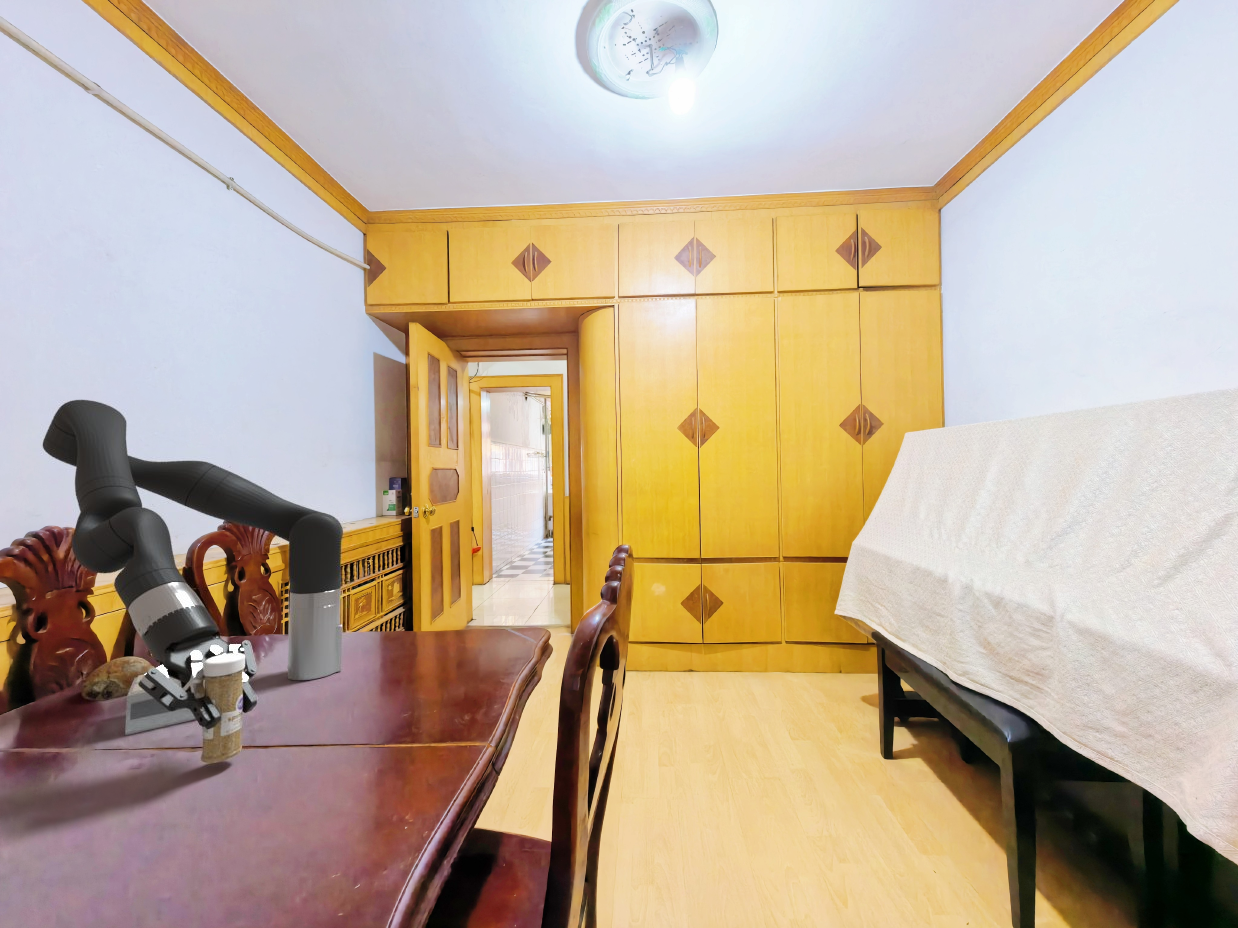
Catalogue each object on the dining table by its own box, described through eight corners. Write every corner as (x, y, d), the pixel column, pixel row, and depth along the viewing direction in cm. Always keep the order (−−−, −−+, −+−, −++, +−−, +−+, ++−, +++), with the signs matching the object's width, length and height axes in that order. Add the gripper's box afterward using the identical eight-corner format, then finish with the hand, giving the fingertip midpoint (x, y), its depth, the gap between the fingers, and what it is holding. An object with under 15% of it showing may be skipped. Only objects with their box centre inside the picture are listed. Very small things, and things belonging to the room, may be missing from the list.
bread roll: (155, 706, 97) (177, 662, 100) (93, 702, 88) (120, 655, 92) (124, 699, 100) (146, 657, 103) (61, 695, 91) (88, 649, 95)
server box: (222, 694, 93) (223, 659, 93) (223, 713, 85) (224, 675, 85) (133, 713, 85) (134, 675, 86) (124, 736, 77) (126, 694, 78)
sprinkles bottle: (240, 757, 68) (244, 658, 69) (197, 768, 66) (201, 664, 66) (243, 743, 72) (246, 649, 73) (202, 752, 70) (206, 655, 70)
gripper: (211, 625, 80) (267, 711, 76) (98, 654, 66) (159, 760, 62) (237, 594, 79) (295, 679, 75) (127, 616, 65) (191, 722, 61)
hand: (233, 715), depth 69 cm, fingers closed on sprinkles bottle, 4 cm apart
